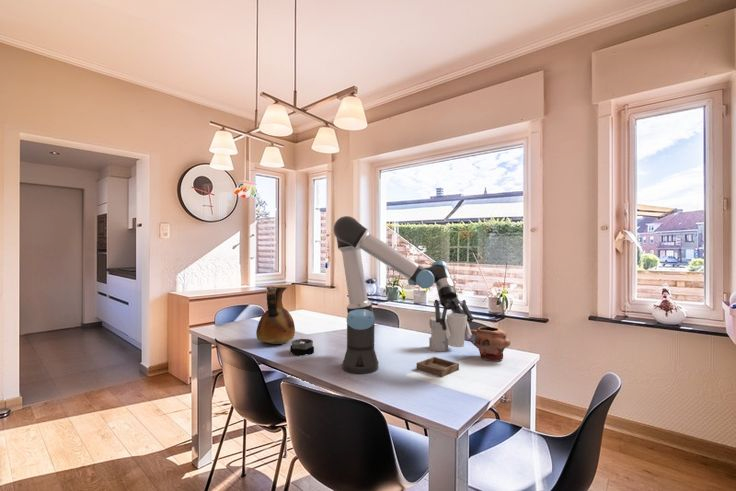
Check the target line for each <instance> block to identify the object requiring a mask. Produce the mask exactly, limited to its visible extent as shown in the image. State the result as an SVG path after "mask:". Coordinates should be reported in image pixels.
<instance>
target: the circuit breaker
mask: <svg viewBox="0 0 736 491" xmlns="http://www.w3.org/2000/svg"><path fill="white" fill-rule="evenodd" d="M440 318H442V316H440ZM445 321H447V317H445ZM428 325H429V328H430V331H431V332H430V337H428V338H429V340H428V341H429V346H428V347H429V349H430V350H431V352H432V351H434V352H449V345H448V339H447V336H446V333H445V330H443V329H442V325H440V323H439V322H438V323H437V322H436V316H433V317H431V316H430V317H429V324H428Z"/></svg>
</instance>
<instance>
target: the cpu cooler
mask: <svg viewBox="0 0 736 491" xmlns="http://www.w3.org/2000/svg"><path fill="white" fill-rule="evenodd" d="M313 344H314V340H312V339H309V338H297V339H294V340H292V341H291V345H290V348H289V352H290V353H291V352H292V353H293V354H292V353H291V354H292V355H294V356H295V355H298V356H297V357H301V356H300V355H302V356H306V355H305V354H308V355H313V354H314V353H315V346H314V345H313ZM312 353H313V354H312Z"/></svg>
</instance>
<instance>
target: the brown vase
mask: <svg viewBox="0 0 736 491" xmlns="http://www.w3.org/2000/svg"><path fill="white" fill-rule="evenodd" d="M265 289H266V290H267V291H266V305H267V310H266V311H264V313H263V314H262V316H261V317H260V319H259V322H258V323H257V326H256V330H255V331H256V333H255V334H256V339H257V340H258V341H260V342H262V343H268V344H274V345H275V344H277V345H279V344H281V345H282V344H286V343H288V342H289V341H291V340H292V339H294V337H295V333H296V328H295V326H296V325H295V322H294V318H293V317H292V314H290V312H289V311H288V310H287V309H286V308H284V306H283V293H284V292H285V290H287V289H288V287H286V286H285V287H284V286H274V285H273V286H268V287H267V286H266V287H265Z"/></svg>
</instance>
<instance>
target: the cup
mask: <svg viewBox="0 0 736 491" xmlns="http://www.w3.org/2000/svg"><path fill="white" fill-rule="evenodd" d="M446 319H447V323H448V327H449V330H450V334H451V336H450V338H449V339H448V347H454V348H463V347H465V338H466V321H467V315H464V314H457V312H453V313H446Z"/></svg>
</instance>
